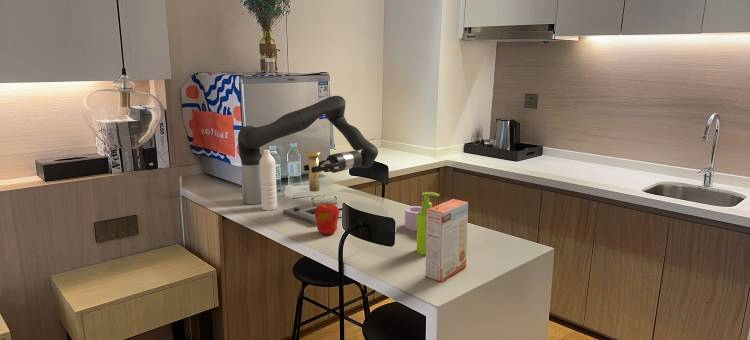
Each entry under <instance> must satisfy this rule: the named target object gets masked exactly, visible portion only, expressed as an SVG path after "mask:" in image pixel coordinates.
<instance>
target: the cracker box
mask: <svg viewBox="0 0 750 340" xmlns="http://www.w3.org/2000/svg"><path fill="white" fill-rule="evenodd" d="M468 216H469V201H464V200H459V199H456V198H452V199H449V200H447V201H444V202H442V203H440V204H437V205H434V206H432V208H429V209H427V210H426V255H425V277H426V278H429V279H430V280H435V281H437V282H439V283H441V282H444V281H445V280H447V279H449V278H450V277H452V276H453V275H456V274H457V273H459V272H460V271H461V270H463V269H465V268H467V256H468V255H467V254H468V253H467V250H468V249H467V248H468V223H469V222H468V220H469V219H468Z"/></svg>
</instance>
